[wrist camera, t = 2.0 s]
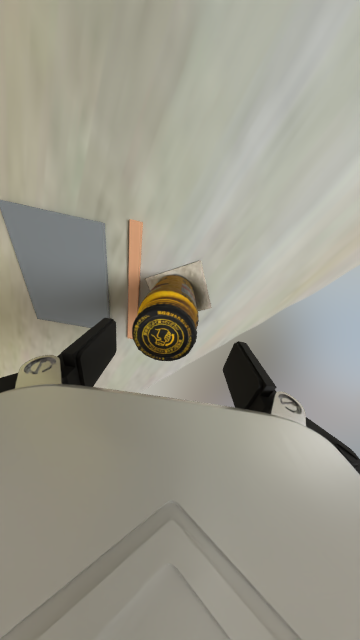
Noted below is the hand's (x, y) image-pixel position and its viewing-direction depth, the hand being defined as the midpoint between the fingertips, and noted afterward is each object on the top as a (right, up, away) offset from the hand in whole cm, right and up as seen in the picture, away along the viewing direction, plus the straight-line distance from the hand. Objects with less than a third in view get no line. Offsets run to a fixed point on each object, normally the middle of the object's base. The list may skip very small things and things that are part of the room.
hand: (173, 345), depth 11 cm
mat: (-16, +8, +10) cm, 21 cm away
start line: (-7, +7, +10) cm, 14 cm away
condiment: (0, +6, +11) cm, 12 cm away
